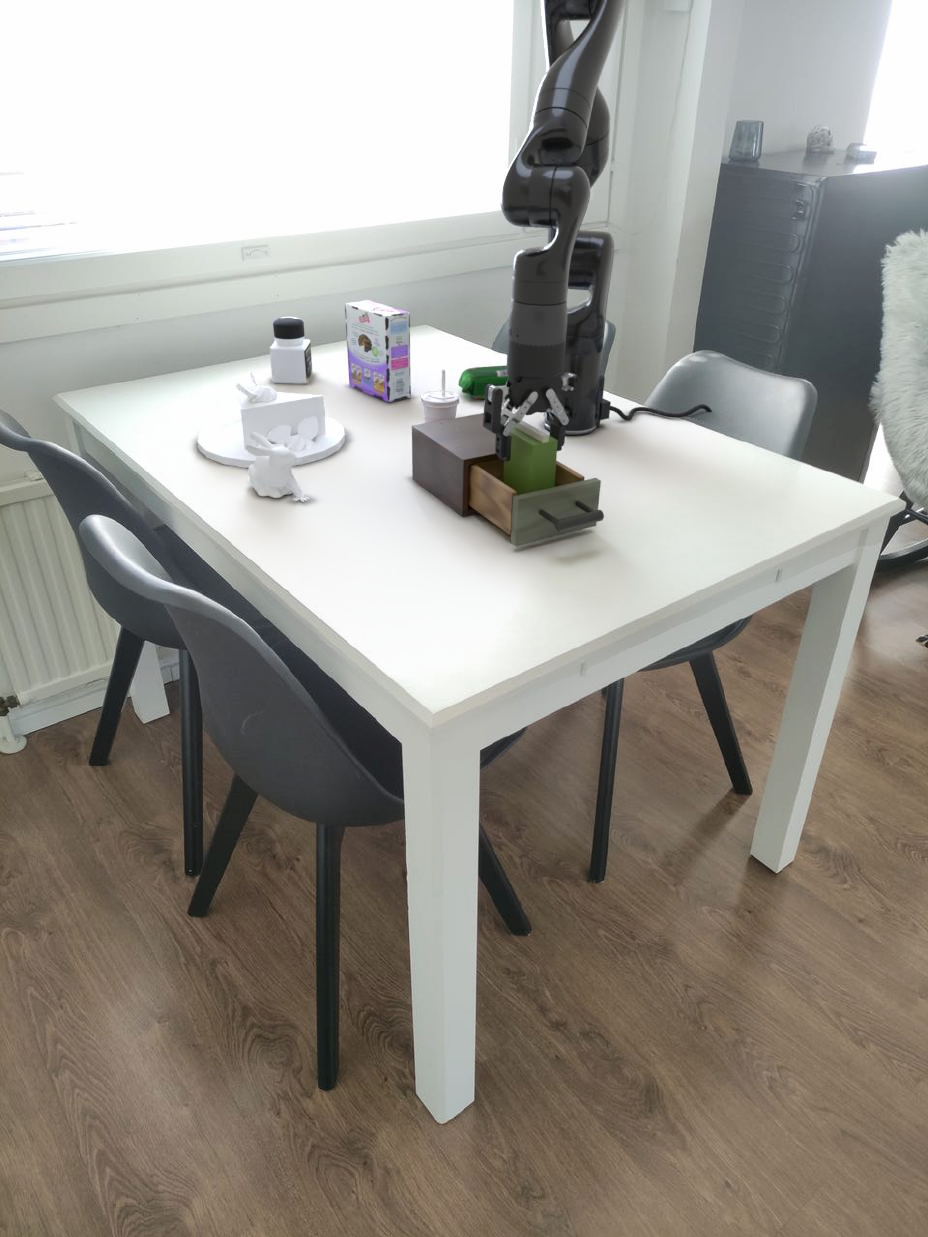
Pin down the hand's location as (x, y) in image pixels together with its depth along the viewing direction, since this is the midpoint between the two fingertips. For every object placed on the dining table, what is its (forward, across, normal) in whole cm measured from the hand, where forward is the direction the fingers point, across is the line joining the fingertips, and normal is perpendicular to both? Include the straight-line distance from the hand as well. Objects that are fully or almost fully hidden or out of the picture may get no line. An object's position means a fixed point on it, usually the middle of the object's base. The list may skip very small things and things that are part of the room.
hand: (530, 454), depth 126 cm
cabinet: (+10, 0, +14) cm, 17 cm away
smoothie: (+10, +2, +30) cm, 31 cm away
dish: (+10, -21, +48) cm, 53 cm away
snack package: (+10, +27, +52) cm, 59 cm away
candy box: (+10, +7, +64) cm, 65 cm away
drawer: (+9, 0, -3) cm, 10 cm away
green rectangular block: (+8, 0, 0) cm, 8 cm away
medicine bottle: (+10, -5, +80) cm, 80 cm away
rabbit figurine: (+10, -29, +27) cm, 41 cm away
